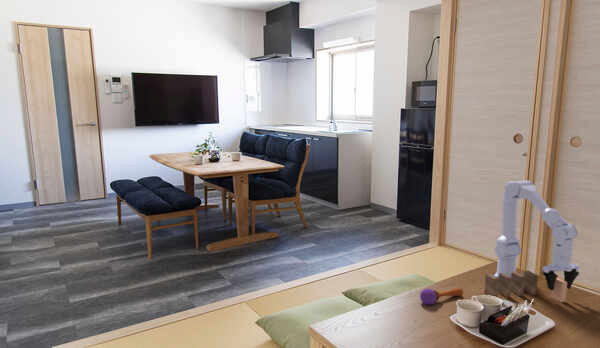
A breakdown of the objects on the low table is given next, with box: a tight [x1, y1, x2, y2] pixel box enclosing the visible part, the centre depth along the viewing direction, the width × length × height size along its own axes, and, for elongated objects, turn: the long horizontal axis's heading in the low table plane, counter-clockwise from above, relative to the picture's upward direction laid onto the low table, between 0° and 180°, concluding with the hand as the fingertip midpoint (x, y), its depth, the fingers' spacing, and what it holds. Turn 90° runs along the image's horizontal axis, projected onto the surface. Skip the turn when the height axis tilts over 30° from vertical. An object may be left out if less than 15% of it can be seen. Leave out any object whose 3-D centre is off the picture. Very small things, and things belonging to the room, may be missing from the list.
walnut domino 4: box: [523, 270, 539, 295], centre depth 169 cm, size 2×5×8 cm, turn 12°
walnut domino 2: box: [497, 273, 512, 298], centre depth 166 cm, size 2×5×8 cm, turn 11°
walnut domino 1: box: [483, 273, 498, 298], centre depth 165 cm, size 2×5×8 cm, turn 11°
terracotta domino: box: [550, 276, 568, 303], centre depth 162 cm, size 2×5×8 cm, turn 12°
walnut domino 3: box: [510, 271, 525, 297], centre depth 167 cm, size 2×5×8 cm, turn 11°
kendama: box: [419, 287, 464, 306], centre depth 161 cm, size 6×6×20 cm
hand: (558, 288), depth 162 cm, fingers open, 7 cm apart
